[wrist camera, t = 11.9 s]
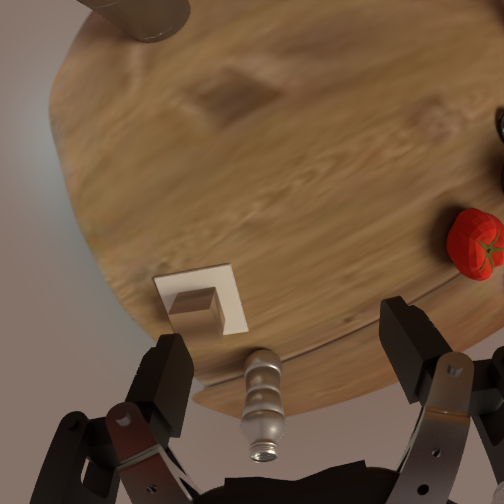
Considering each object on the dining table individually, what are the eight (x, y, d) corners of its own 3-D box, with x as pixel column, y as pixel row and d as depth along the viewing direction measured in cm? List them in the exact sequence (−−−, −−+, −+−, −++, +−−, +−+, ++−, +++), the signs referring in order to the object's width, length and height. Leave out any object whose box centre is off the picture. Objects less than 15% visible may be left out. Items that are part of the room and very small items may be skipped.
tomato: (456, 276, 42) (483, 301, 33) (428, 232, 39) (460, 254, 30) (490, 236, 39) (521, 255, 30) (467, 187, 36) (503, 201, 27)
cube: (177, 292, 43) (167, 314, 37) (215, 286, 42) (209, 309, 36) (189, 324, 45) (181, 348, 39) (225, 319, 44) (221, 343, 39)
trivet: (155, 276, 42) (153, 278, 42) (230, 263, 41) (230, 264, 41) (179, 337, 47) (179, 340, 46) (248, 329, 46) (248, 331, 45)
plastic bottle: (288, 352, 47) (299, 451, 29) (268, 375, 50) (271, 469, 31) (255, 339, 46) (254, 442, 28) (237, 363, 49) (229, 461, 30)
